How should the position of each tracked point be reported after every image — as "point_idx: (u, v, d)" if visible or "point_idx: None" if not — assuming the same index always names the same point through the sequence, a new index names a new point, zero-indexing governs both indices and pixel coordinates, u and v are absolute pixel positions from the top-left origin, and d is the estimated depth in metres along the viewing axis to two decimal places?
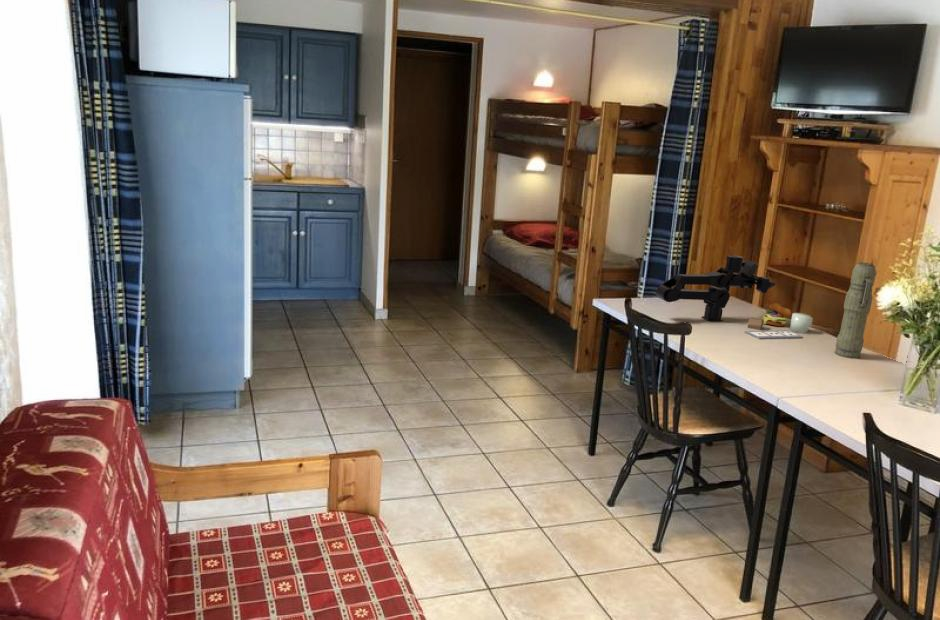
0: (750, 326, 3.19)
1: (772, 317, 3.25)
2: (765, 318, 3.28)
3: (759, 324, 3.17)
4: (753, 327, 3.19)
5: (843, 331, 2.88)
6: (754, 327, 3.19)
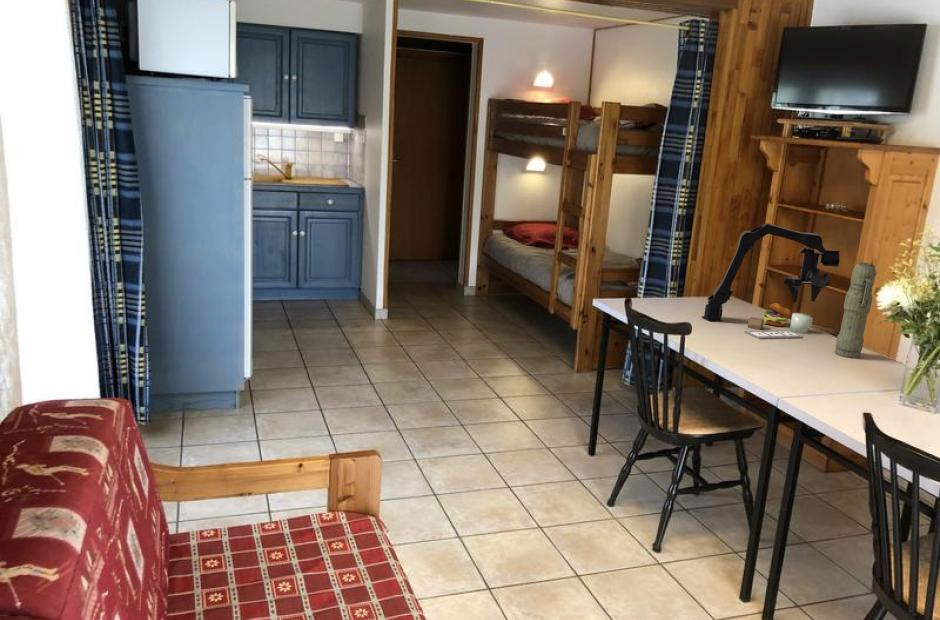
0: (750, 326, 3.20)
1: (772, 317, 3.25)
2: (765, 318, 3.28)
3: (759, 324, 3.17)
4: (753, 327, 3.19)
5: (843, 331, 2.88)
6: (754, 327, 3.19)
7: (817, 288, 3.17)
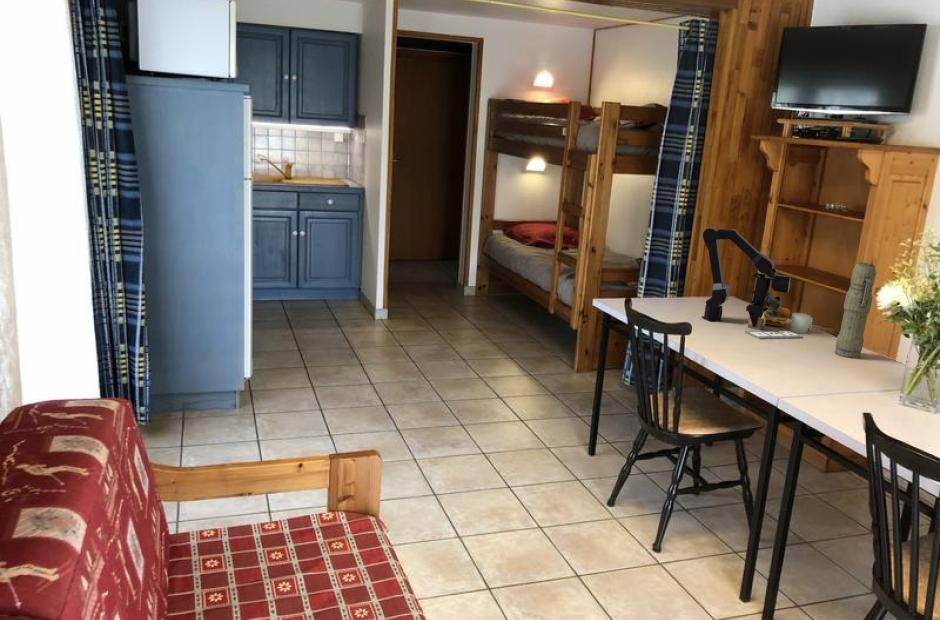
0: (750, 326, 3.19)
1: (771, 317, 3.25)
2: (764, 318, 3.28)
3: (759, 324, 3.17)
4: (753, 327, 3.19)
5: (843, 331, 2.88)
6: (754, 327, 3.19)
7: None
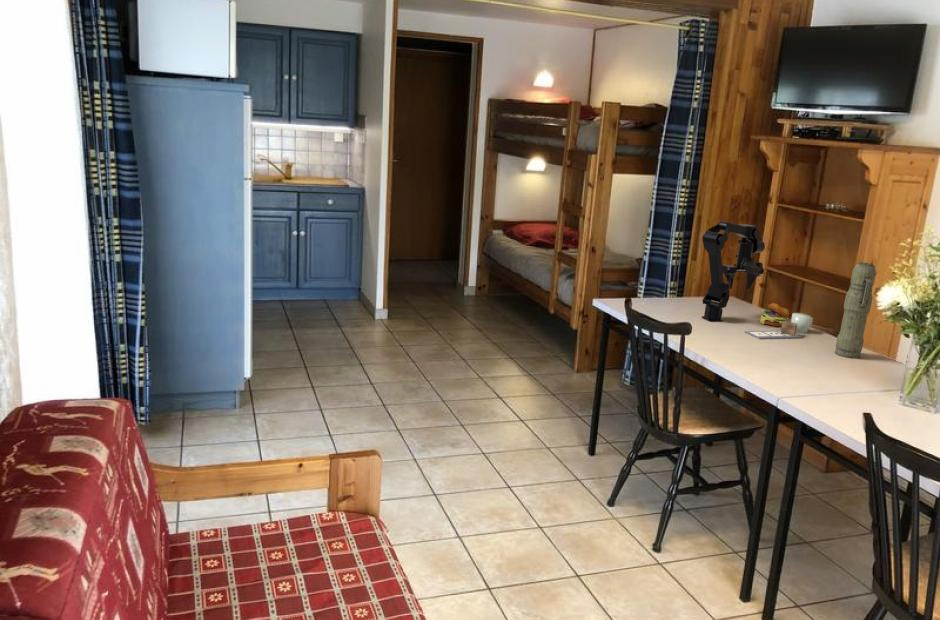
0: None
1: (770, 317, 3.25)
2: (763, 318, 3.27)
3: None
4: None
5: (843, 331, 2.88)
6: None
7: (752, 276, 3.36)
